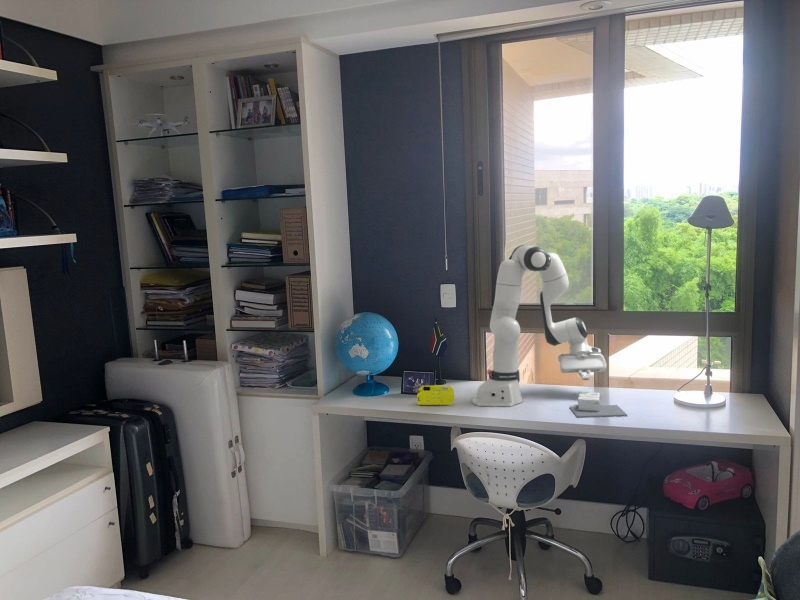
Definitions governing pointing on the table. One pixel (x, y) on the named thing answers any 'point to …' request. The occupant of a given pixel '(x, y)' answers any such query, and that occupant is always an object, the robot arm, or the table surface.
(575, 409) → the mat
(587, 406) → the ink box
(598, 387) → the table surface
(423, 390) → the yellow camera
